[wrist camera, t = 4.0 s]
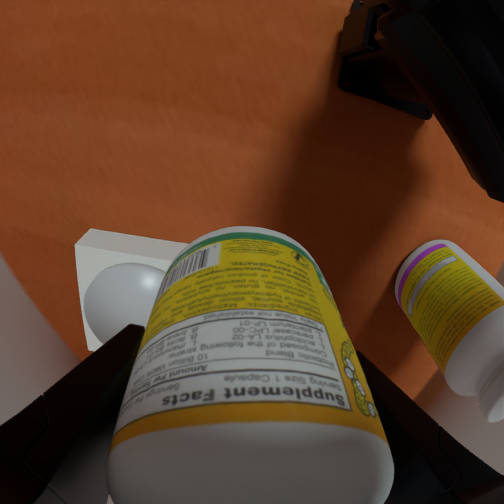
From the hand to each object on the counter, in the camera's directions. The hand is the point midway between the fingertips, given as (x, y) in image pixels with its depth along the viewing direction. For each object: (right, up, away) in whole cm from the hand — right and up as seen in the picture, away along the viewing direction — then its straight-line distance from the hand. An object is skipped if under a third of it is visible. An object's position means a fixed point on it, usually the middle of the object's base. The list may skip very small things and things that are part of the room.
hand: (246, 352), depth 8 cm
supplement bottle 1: (0, +1, +3) cm, 3 cm away
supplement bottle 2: (+14, +1, +14) cm, 20 cm away
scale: (-7, 0, +14) cm, 16 cm away
